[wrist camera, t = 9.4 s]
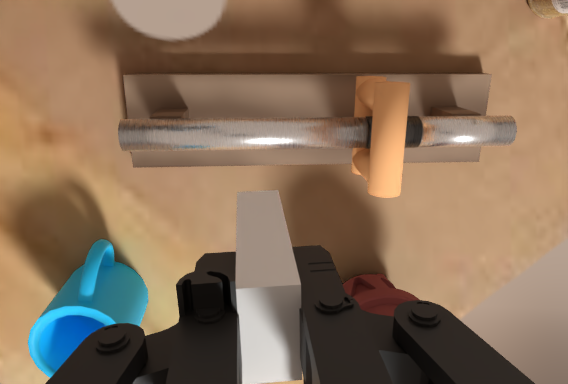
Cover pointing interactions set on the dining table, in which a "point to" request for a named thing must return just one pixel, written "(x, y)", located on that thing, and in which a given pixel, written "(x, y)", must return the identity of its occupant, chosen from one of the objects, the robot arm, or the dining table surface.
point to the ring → (382, 133)
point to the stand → (293, 110)
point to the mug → (87, 307)
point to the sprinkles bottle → (549, 8)
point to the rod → (308, 133)
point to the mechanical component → (376, 294)
